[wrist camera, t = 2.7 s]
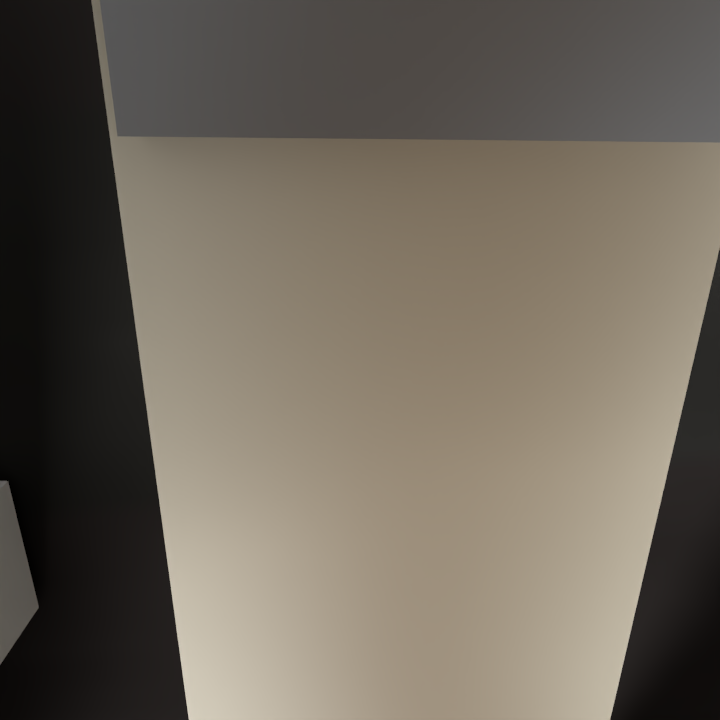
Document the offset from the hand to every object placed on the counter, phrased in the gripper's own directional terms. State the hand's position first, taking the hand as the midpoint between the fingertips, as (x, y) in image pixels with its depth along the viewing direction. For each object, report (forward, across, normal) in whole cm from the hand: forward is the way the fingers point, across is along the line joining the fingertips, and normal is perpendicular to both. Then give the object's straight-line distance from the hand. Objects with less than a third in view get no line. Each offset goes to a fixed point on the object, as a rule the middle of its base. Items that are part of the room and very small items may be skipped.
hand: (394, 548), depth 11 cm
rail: (0, 0, 0) cm, 0 cm away
